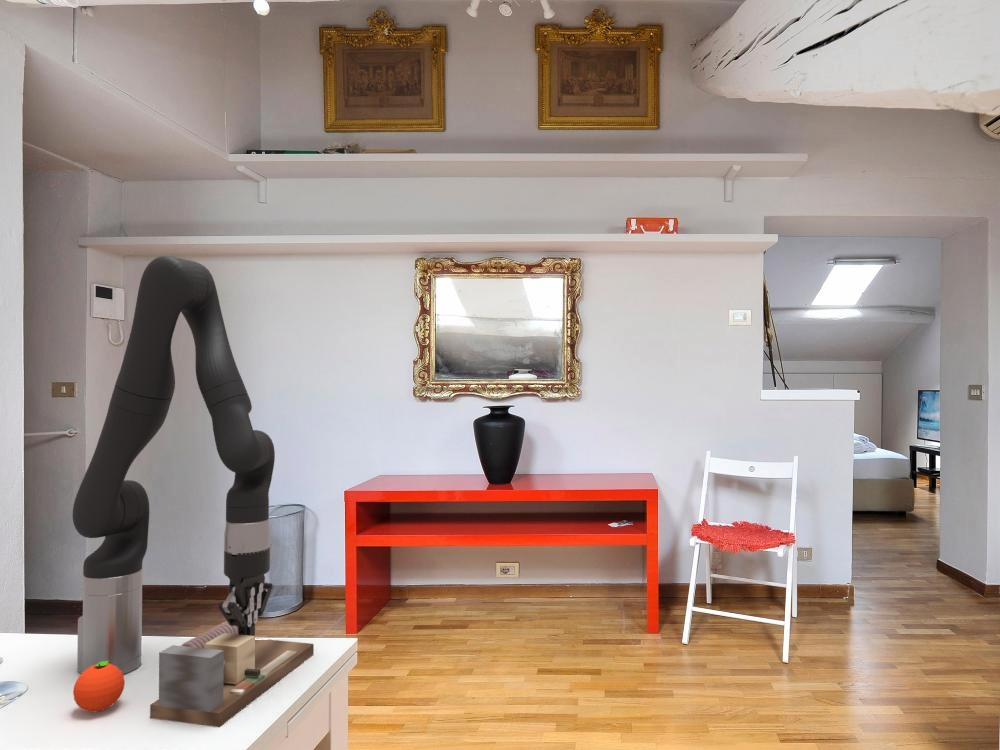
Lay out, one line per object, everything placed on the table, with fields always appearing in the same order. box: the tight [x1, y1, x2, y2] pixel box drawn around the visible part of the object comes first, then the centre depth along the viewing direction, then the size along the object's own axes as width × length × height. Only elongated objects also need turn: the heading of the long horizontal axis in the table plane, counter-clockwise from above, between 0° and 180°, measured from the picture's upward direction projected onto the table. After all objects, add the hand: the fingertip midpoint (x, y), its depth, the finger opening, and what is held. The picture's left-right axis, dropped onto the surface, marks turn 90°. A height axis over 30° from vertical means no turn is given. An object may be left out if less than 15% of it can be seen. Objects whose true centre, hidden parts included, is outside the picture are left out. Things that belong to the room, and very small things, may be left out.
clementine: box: [72, 661, 125, 713], centre depth 106 cm, size 8×7×7 cm
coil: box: [180, 620, 238, 648], centre depth 129 cm, size 5×5×18 cm
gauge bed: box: [149, 638, 315, 728], centre depth 115 cm, size 12×28×10 cm, turn 167°
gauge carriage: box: [205, 633, 260, 684], centre depth 110 cm, size 8×8×6 cm
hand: (246, 646), depth 116 cm, fingers closed
